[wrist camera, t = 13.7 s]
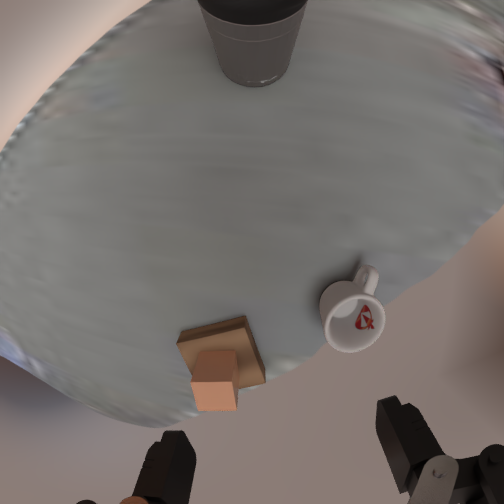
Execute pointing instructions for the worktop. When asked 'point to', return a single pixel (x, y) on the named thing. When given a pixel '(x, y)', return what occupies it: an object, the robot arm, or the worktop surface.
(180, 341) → the walnut block
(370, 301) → the cup
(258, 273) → the worktop surface
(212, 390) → the terracotta block
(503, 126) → the worktop surface
